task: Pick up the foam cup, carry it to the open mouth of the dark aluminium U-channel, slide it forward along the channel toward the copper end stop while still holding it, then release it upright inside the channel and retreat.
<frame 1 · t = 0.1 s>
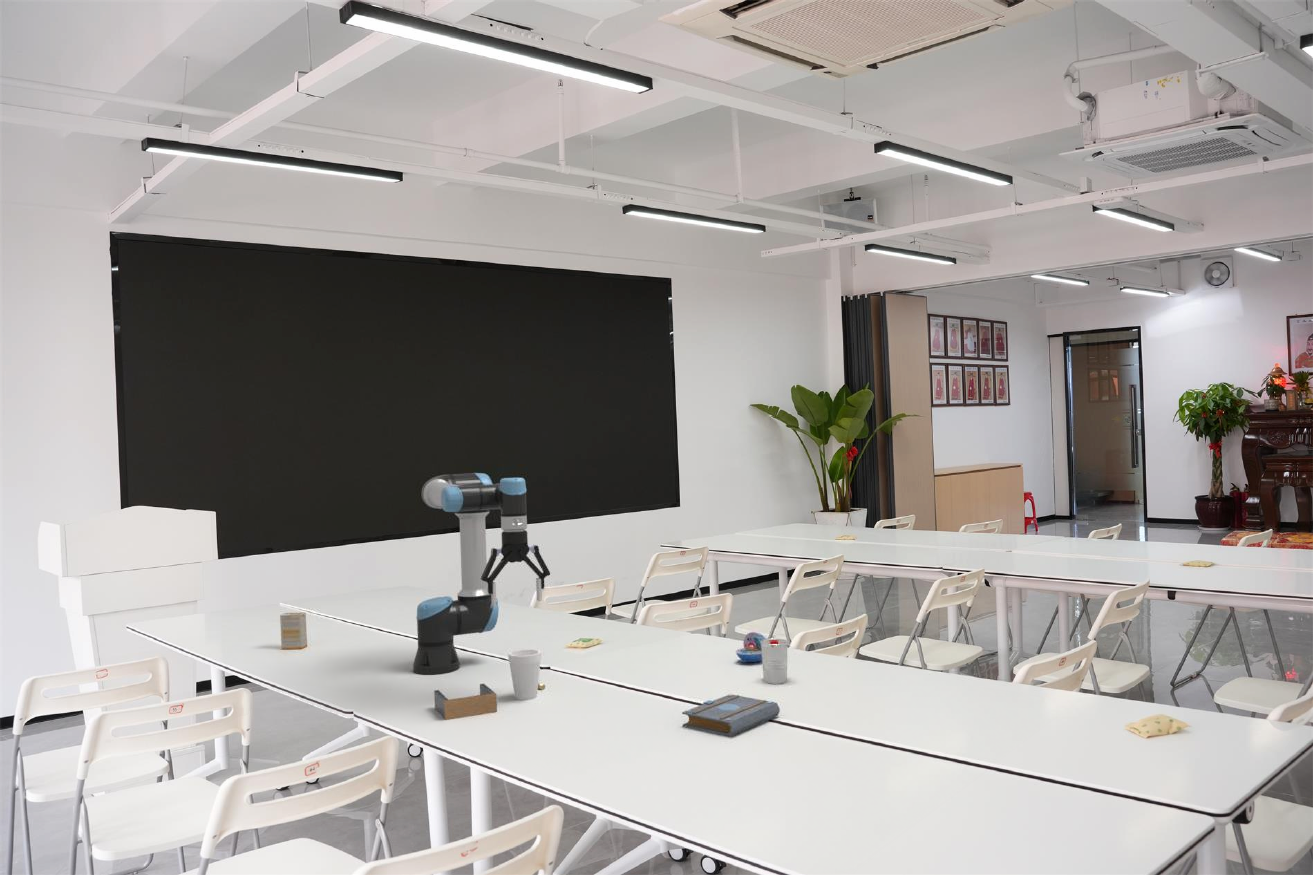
hand: (516, 602, 285), 28 cm above the table, fingers open, 13 cm apart
supplement box: (294, 648, 366), on the table
book: (731, 724, 254), on the table
cell model: (752, 662, 319), on the table
brass key: (536, 688, 295), on the table
ribbed metal can: (775, 681, 294), on the table
foam cup: (526, 697, 285), on the table
channel: (465, 709, 274), on the table
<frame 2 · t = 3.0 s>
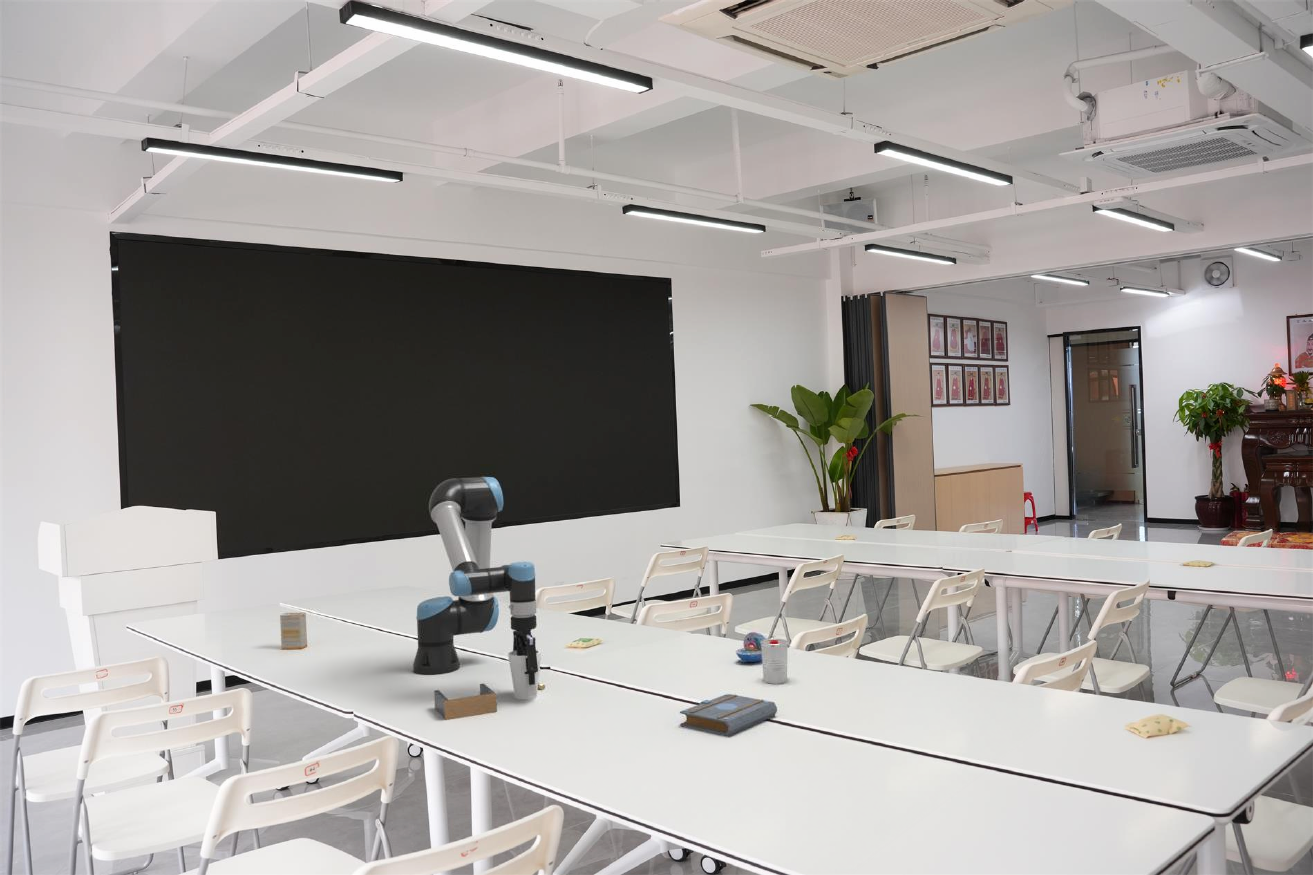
hand: (525, 691, 285), 2 cm above the table, fingers closed on foam cup, 9 cm apart
foam cup: (526, 697, 285), on the table, touching gripper
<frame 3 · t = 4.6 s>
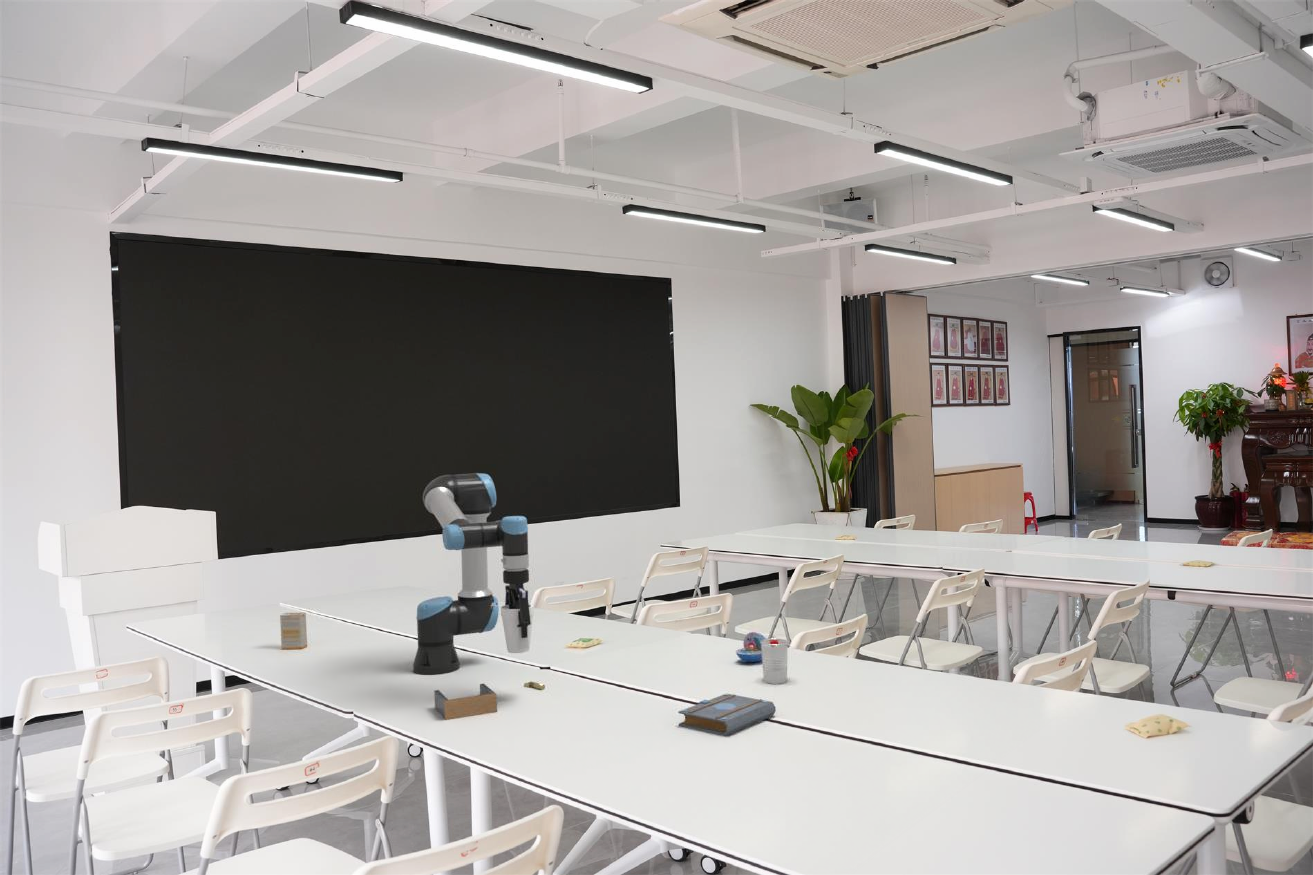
hand: (518, 645, 285), 15 cm above the table, fingers closed on foam cup, 9 cm apart
foam cup: (518, 651, 285), point 13 cm above the table, touching gripper
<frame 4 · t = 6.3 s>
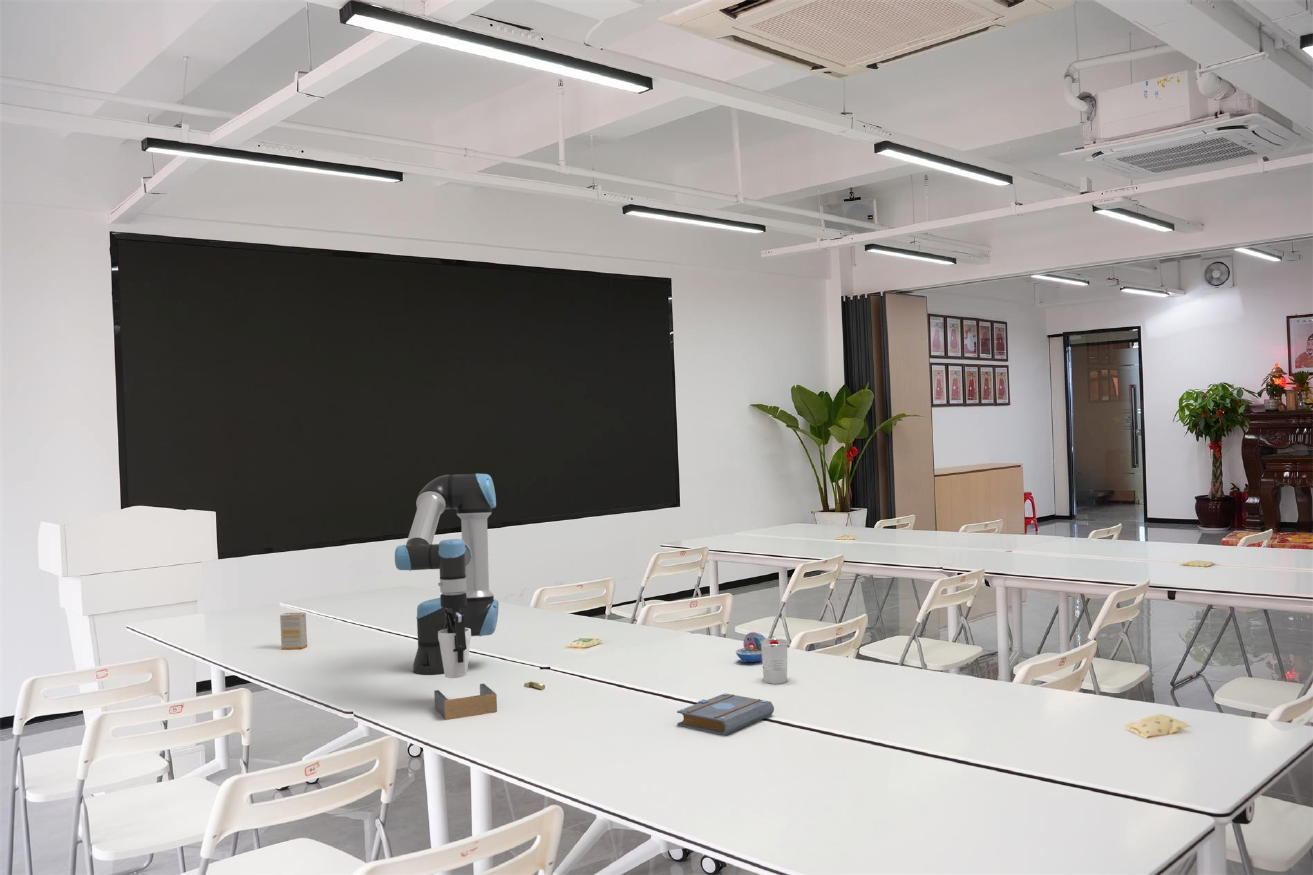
hand: (455, 670, 282), 9 cm above the table, fingers closed on foam cup, 9 cm apart
foam cup: (455, 676, 282), point 7 cm above the table, touching gripper
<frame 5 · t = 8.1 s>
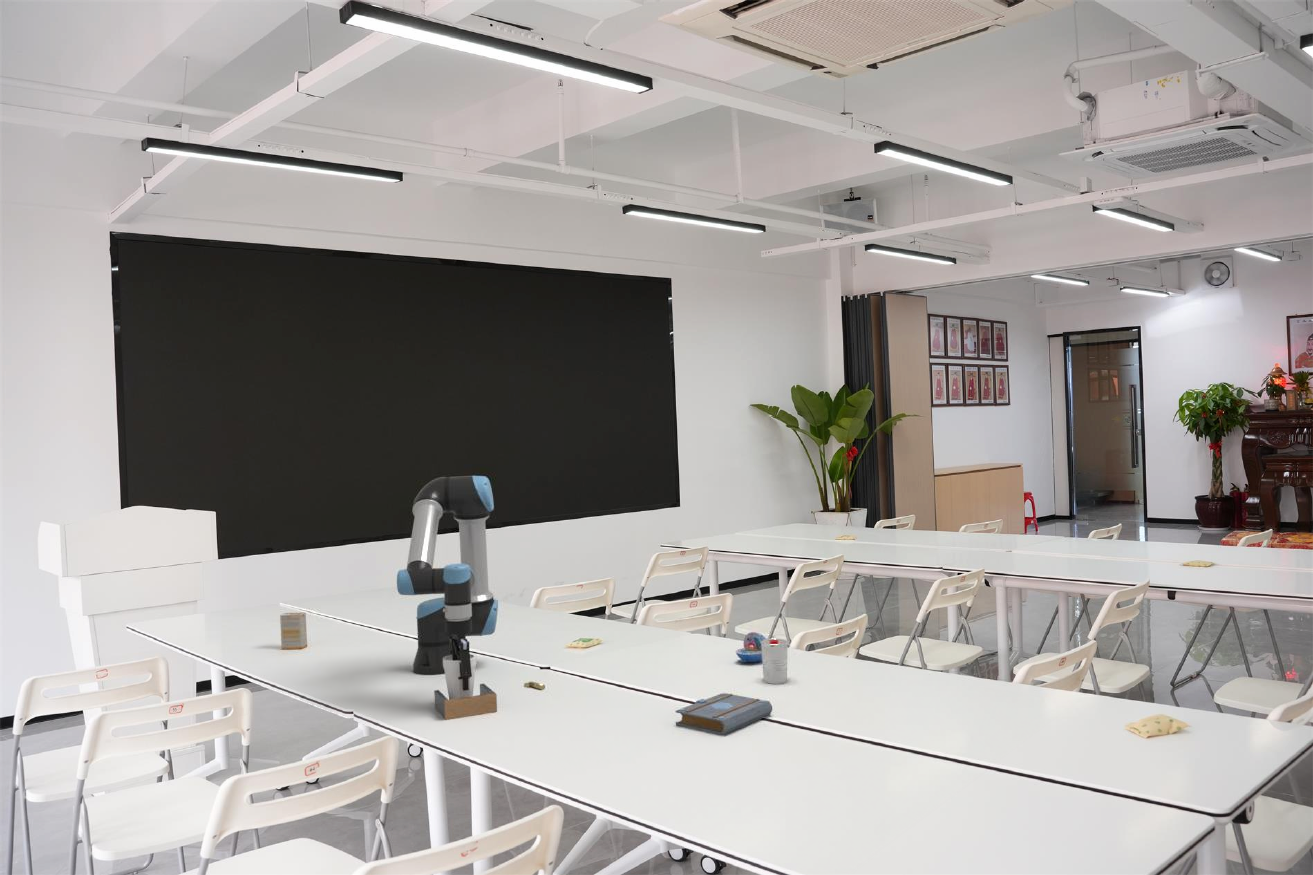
hand: (460, 697, 277), 3 cm above the table, fingers closed on foam cup, 9 cm apart
foam cup: (461, 703, 277), point 1 cm above the table, touching gripper
when the fingers open (2 cm above the table, at t = 9.6 s): foam cup stays where it is, on the table.
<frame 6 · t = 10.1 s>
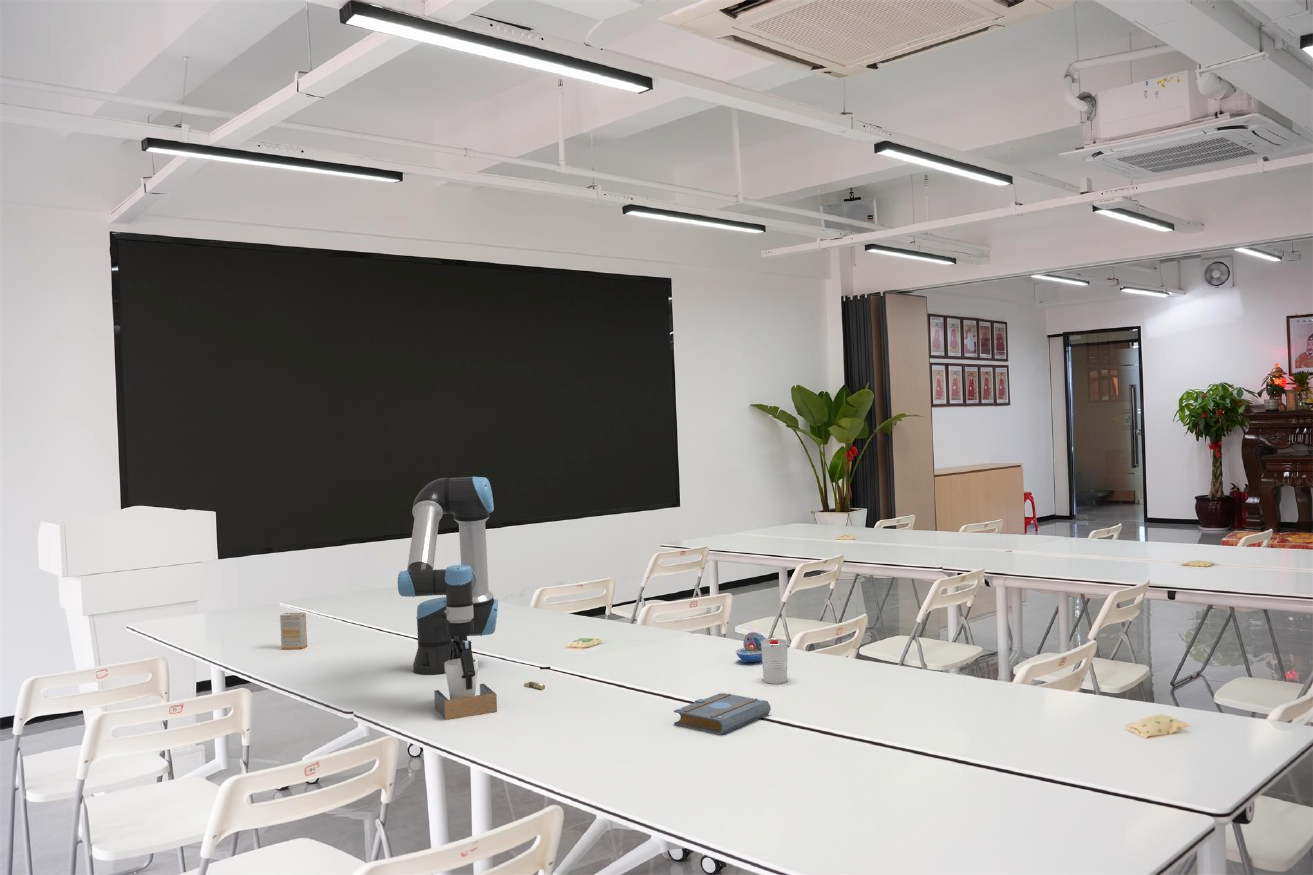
hand: (462, 695, 276), 3 cm above the table, fingers open, 13 cm apart
foam cup: (462, 708, 276), on the table
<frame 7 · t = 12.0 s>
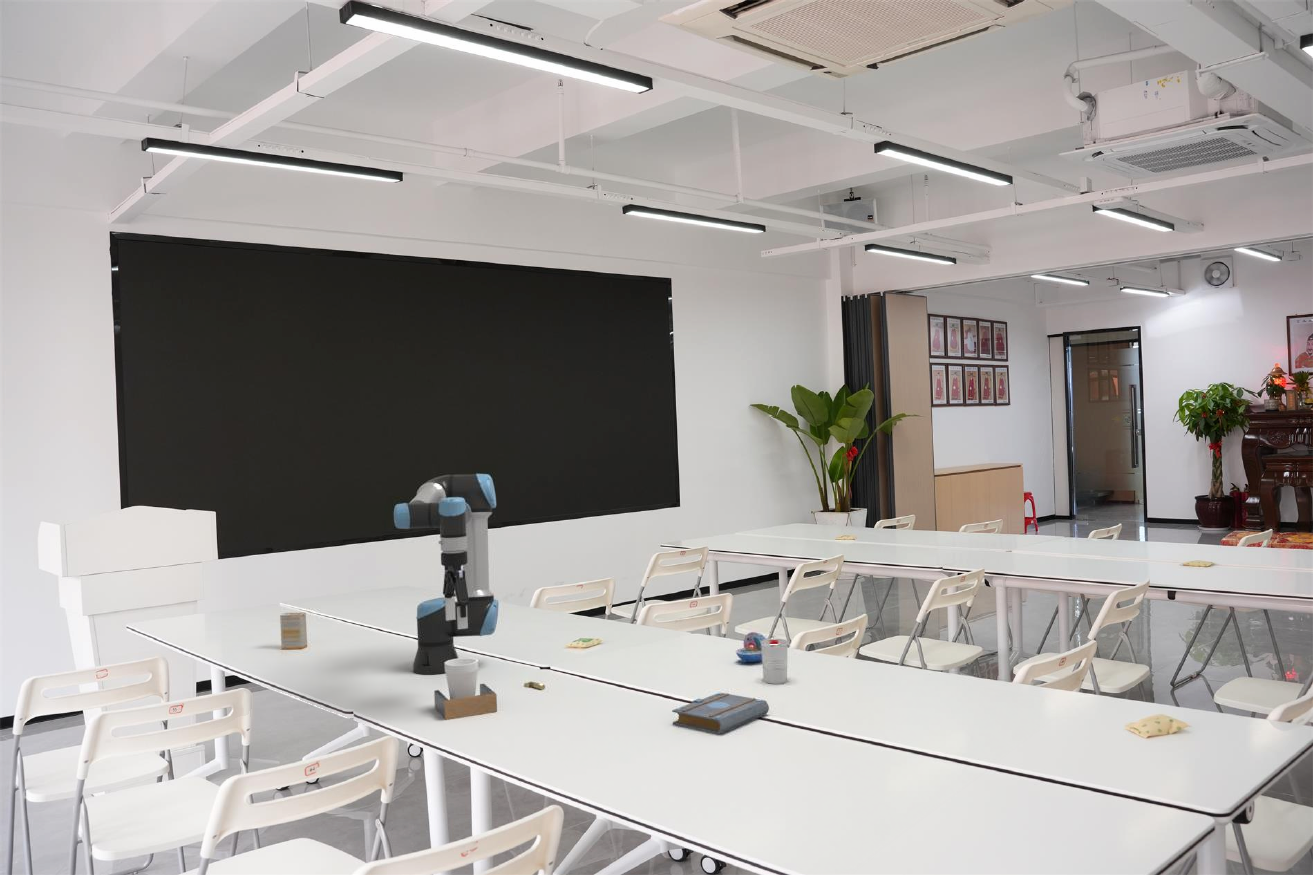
hand: (456, 624, 281), 23 cm above the table, fingers open, 13 cm apart
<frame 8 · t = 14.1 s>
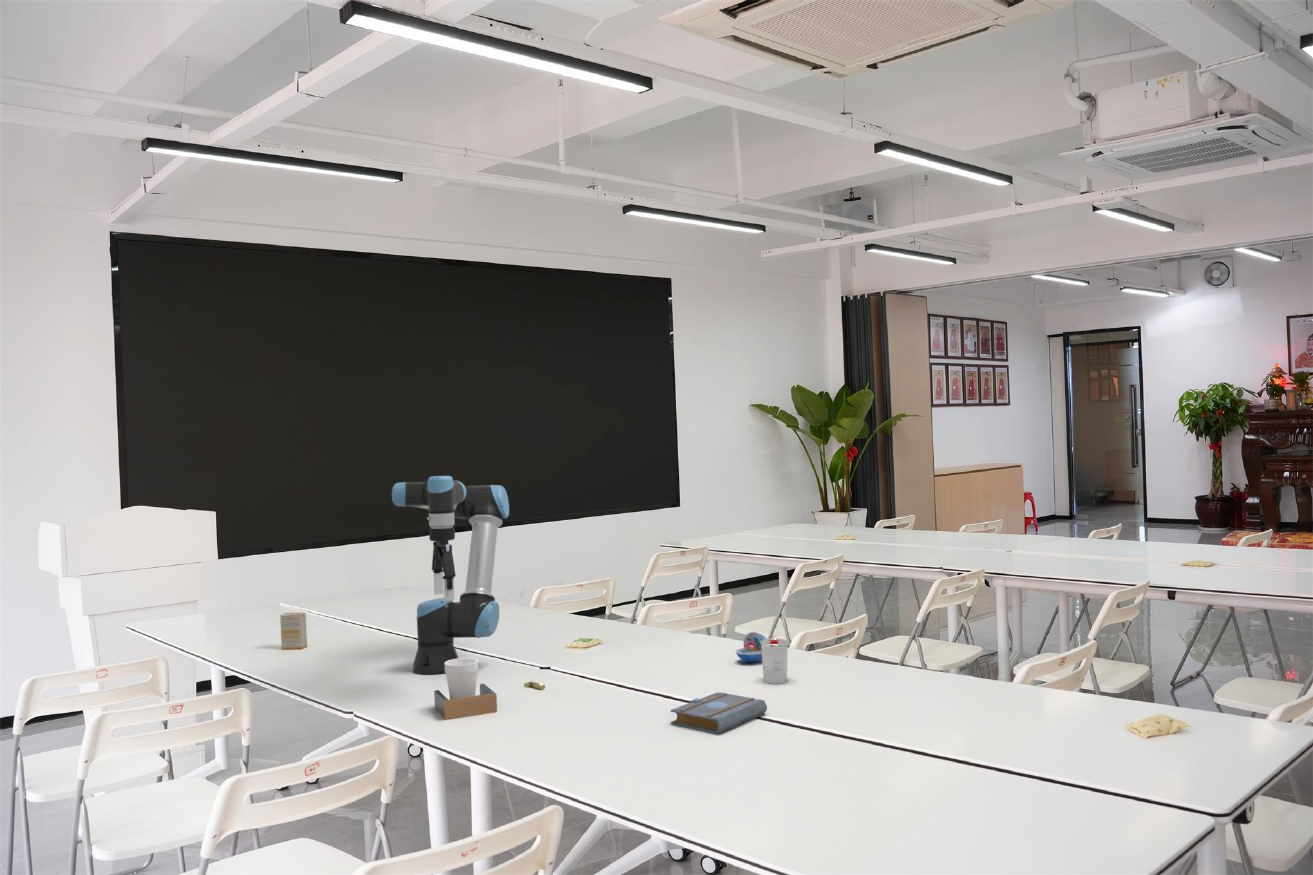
hand: (444, 597, 293), 29 cm above the table, fingers open, 13 cm apart
at the end: foam cup inside the target area (1.9 cm from its centre), on the table; foam cup tilted 0°; the gripper is holding nothing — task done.
